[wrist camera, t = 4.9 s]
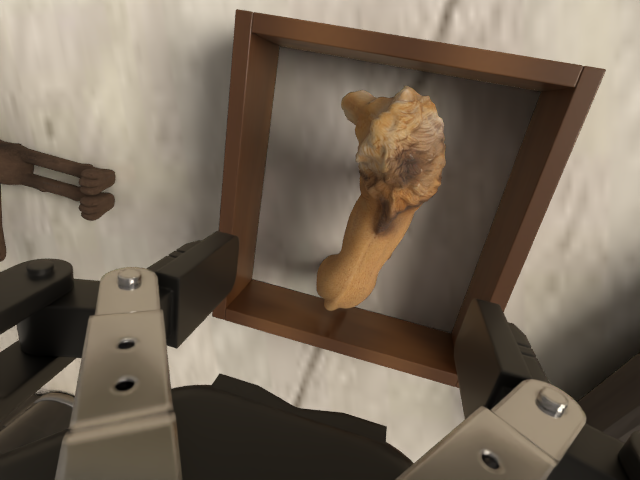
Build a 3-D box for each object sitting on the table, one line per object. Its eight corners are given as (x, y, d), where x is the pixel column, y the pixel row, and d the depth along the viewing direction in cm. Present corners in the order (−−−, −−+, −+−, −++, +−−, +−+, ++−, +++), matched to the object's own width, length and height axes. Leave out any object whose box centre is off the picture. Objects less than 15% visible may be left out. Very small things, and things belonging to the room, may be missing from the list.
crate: (238, 285, 29) (210, 316, 24) (266, 24, 22) (233, 5, 18) (460, 346, 26) (470, 391, 22) (565, 74, 20) (608, 66, 15)
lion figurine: (364, 81, 22) (338, 66, 14) (454, 102, 21) (484, 98, 13) (314, 293, 27) (274, 373, 19) (384, 314, 27) (374, 407, 18)
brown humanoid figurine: (88, 308, 29) (-88, 257, 29) (122, 282, 33) (-33, 238, 33) (89, 57, 22) (-141, -6, 22) (132, 63, 26) (-63, 10, 26)
